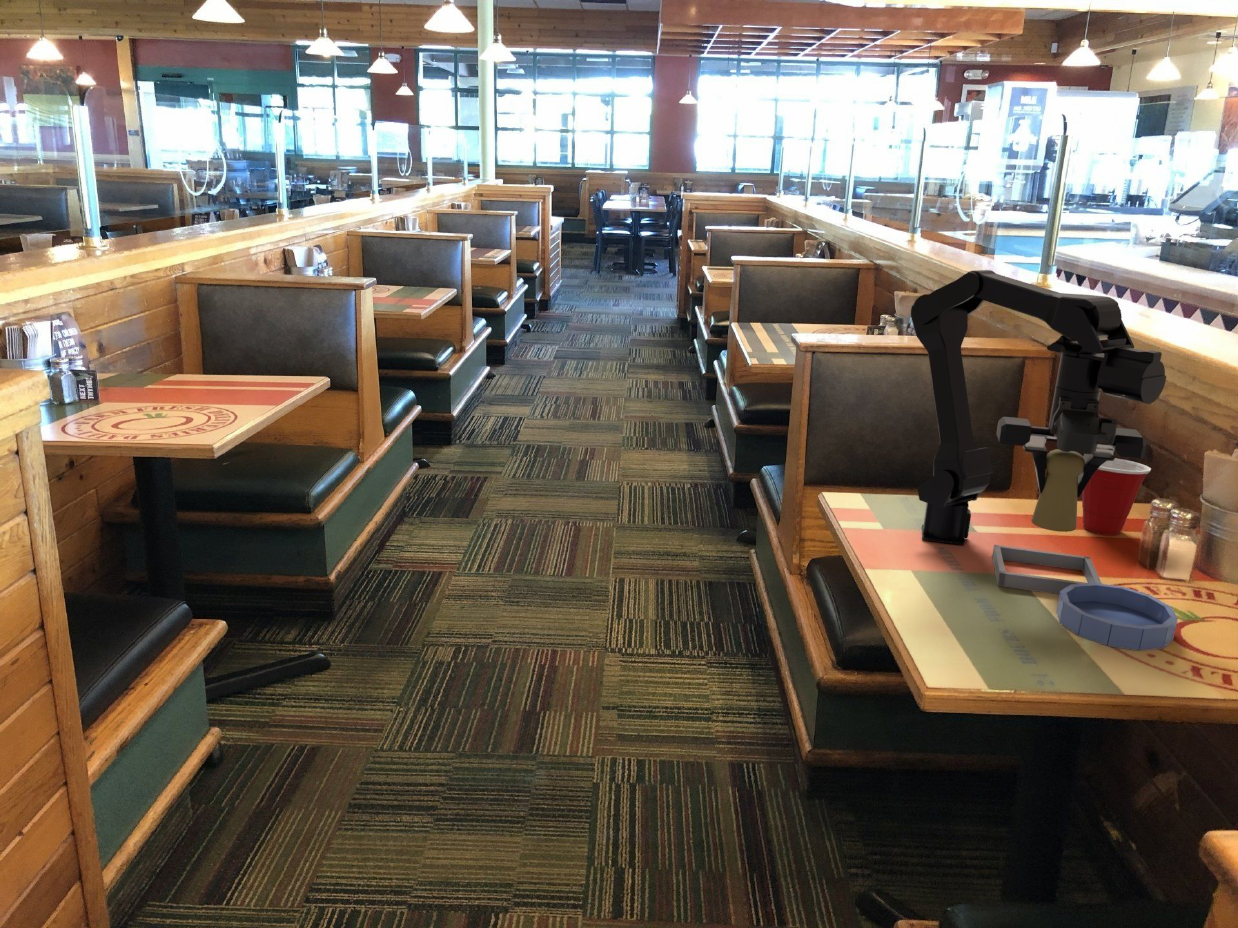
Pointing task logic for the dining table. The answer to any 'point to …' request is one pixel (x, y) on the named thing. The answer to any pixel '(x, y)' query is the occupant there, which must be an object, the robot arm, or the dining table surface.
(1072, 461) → the olive game pawn
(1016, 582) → the open gray frame
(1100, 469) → the plastic cup
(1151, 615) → the bowl
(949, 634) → the dining table surface
